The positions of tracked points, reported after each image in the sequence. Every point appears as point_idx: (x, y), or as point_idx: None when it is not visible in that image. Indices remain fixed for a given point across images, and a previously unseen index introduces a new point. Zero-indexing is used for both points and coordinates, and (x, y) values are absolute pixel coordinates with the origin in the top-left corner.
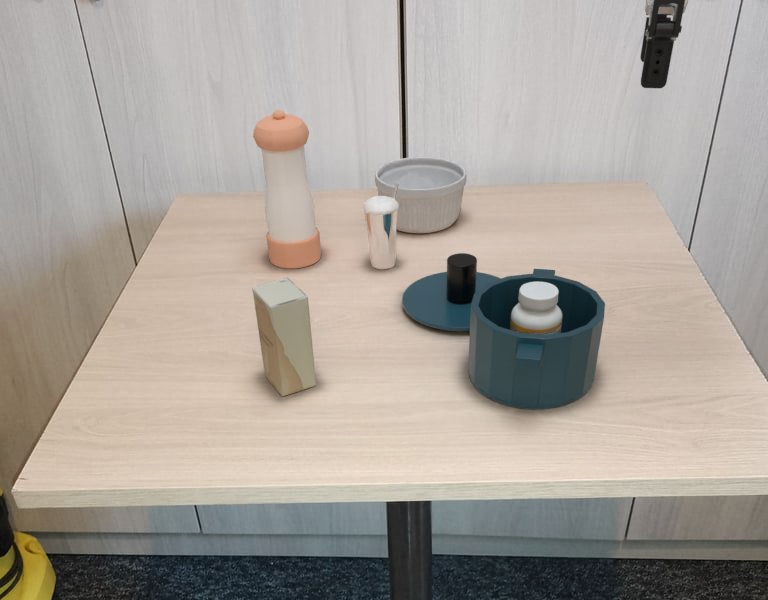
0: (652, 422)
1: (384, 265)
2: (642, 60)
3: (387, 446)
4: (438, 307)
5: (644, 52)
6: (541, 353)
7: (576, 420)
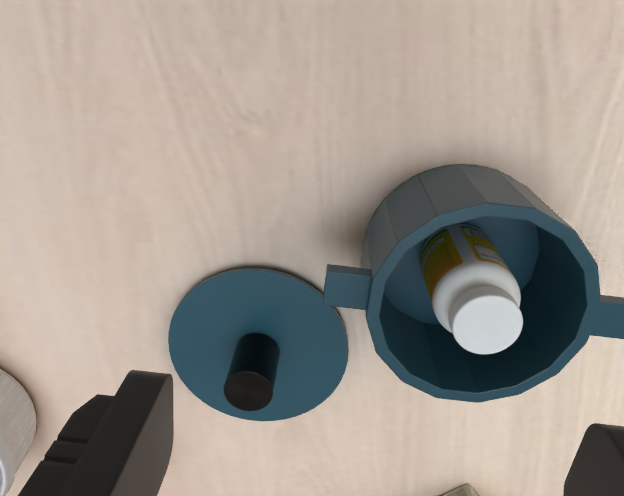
0: (600, 83)
1: None
2: (169, 449)
3: (601, 408)
4: (290, 378)
5: (159, 475)
6: (620, 304)
7: (579, 195)
